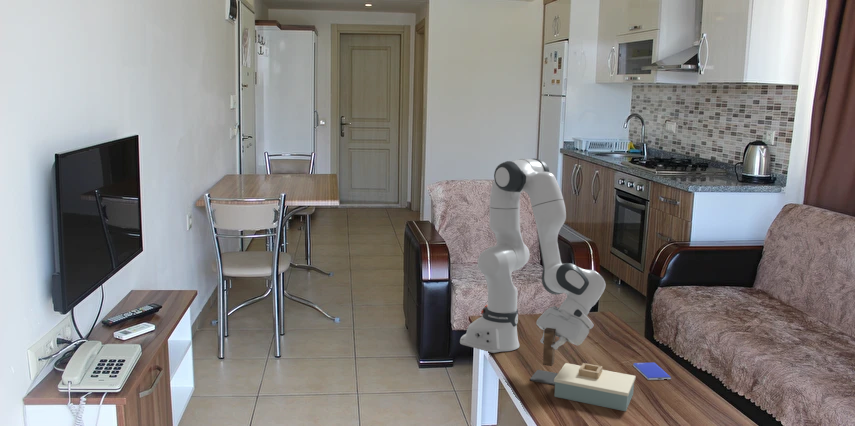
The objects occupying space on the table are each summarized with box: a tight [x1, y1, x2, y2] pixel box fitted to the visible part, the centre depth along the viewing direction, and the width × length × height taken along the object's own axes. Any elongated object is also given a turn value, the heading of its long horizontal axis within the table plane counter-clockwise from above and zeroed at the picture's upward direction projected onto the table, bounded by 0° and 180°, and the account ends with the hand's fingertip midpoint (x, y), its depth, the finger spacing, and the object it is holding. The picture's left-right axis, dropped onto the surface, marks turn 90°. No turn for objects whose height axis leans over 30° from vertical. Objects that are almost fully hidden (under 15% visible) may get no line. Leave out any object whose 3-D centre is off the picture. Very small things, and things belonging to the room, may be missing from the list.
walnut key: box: [542, 328, 556, 367], centre depth 230 cm, size 3×3×12 cm
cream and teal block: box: [554, 362, 637, 412], centre depth 219 cm, size 23×15×8 cm, turn 65°
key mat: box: [529, 369, 559, 386], centre depth 232 cm, size 9×9×1 cm
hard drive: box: [632, 362, 672, 381], centre depth 239 cm, size 2×8×12 cm
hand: (547, 345), depth 229 cm, fingers closed on walnut key, 4 cm apart
